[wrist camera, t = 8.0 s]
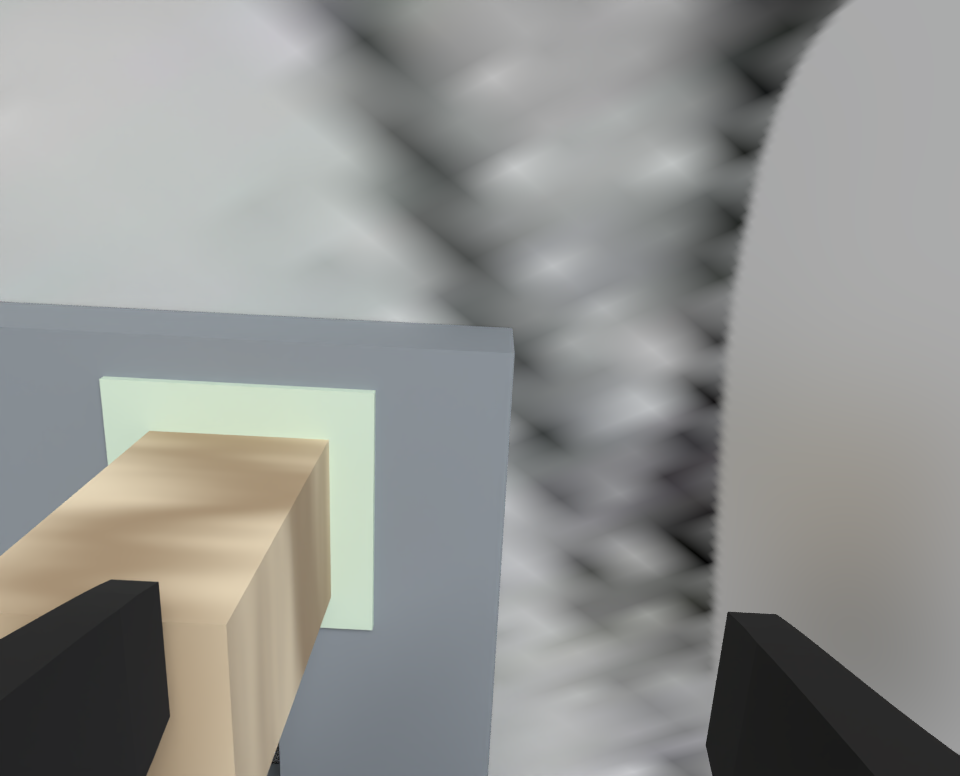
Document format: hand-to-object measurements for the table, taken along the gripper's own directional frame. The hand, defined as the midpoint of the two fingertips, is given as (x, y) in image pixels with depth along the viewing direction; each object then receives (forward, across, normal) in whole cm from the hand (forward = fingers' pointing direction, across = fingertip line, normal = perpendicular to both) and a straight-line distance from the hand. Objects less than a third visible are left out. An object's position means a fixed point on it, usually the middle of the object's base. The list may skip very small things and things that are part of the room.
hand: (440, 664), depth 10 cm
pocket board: (+10, +6, +6) cm, 13 cm away
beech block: (+8, +5, +2) cm, 10 cm away
